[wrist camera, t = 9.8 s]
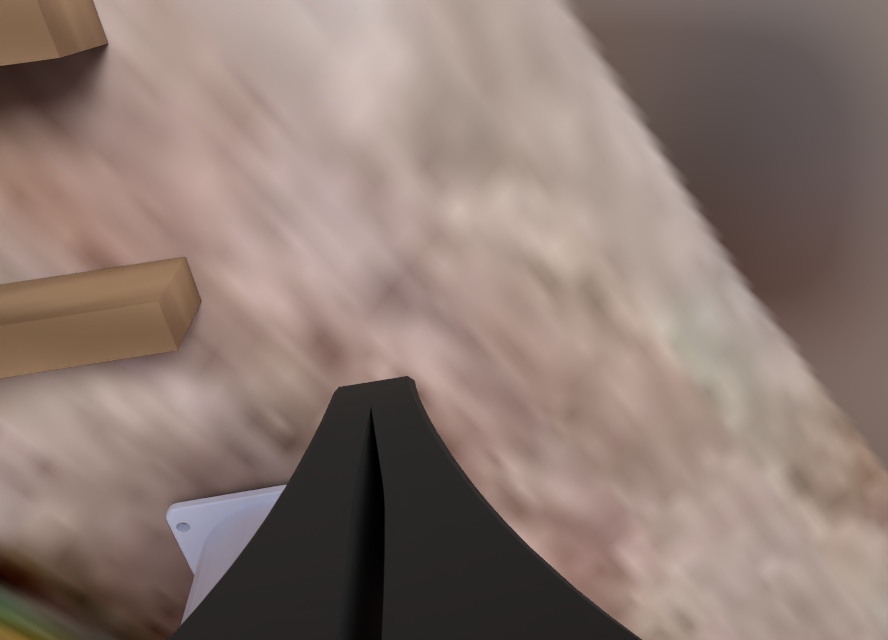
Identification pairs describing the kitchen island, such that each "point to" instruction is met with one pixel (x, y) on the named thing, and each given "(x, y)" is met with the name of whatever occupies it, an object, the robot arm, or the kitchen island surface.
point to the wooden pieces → (95, 292)
